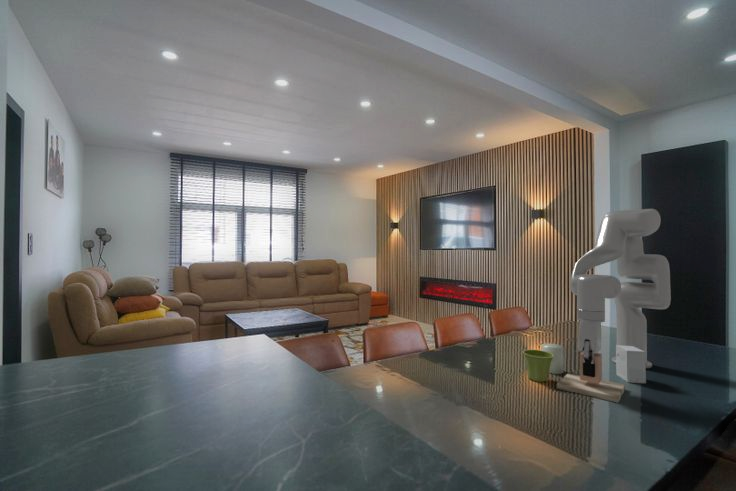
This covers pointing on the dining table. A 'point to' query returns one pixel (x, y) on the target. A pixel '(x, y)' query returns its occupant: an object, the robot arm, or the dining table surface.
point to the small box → (630, 364)
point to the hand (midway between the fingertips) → (590, 373)
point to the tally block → (597, 369)
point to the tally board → (592, 388)
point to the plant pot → (538, 364)
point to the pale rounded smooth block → (555, 357)
